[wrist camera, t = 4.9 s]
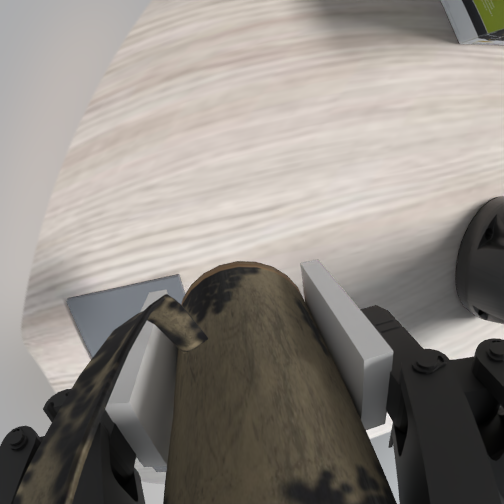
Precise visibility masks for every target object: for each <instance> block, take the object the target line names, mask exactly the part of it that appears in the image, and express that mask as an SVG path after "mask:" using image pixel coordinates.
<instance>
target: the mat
mask: <svg viewBox="0 0 504 504" xmlns="http://www.w3.org/2000/svg"><path fill="white" fill-rule="evenodd" d="M161 290H167V293H168V295H169V296H171V297H172V298H174V299H175V300H177V301H178V302H179V303H180V304H182V300H183V297H184V296H185V292H184V289H183V285H182V282H181V279H180V276H179V274H177V275H173V276H168V277H164V278H159V279H155V280H150V281H146V282H141V283H137V284H132V285H127V286H123V287H118V288H114V289H109V290H104V291H100V292H95V293H91V294H86V295H81V296H77V297H72V298H68V299H67V304H68V306H69V309H70V311H71V313H72V316H73V318H74V320H75V322H76V325H77V327H78V329H79V331H80V333H81V335H82V337H83V340H84V342H85V344H86V346H87V348H88V350H89V352H90V354H91V356H92V358H93V357H94V355H95V354H96V353H97V351H98V350H99V349H100V347H101V346H102V345H103V344H104V342H105V341H106V340H107V338H108V337H109V336H110V334H111V333H112V332H113V330H115V329H116V328H118V327H119V326H121V325H122V324H123V323H125V322H126V321H128V320H129V319H130V318H132V317H133V316H135V315H136V314H138V313H140V312H141V309H142V307H143V305H144V303H145V301H146V298H147V296H148V294H149V293H150V292H155V291H161Z"/></svg>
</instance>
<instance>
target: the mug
mask: <svg viewBox="0 0 504 504" xmlns="http://www.w3.org/2000/svg"><path fill="white" fill-rule="evenodd" d="M146 321H149V322H151V323H153V324H155V325H156V326H157V327H158V328H159V329H160V330H161V331H162V332H163V333H164V334H165V335H166V336H167V337H168V338H169V339H170V340H171V341H172V342H173V343H174V344H175V345H176V346H177V347H178V358H177V369H176V381H175V394H174V408H173V420H172V428H171V436H170V444H169V453H168V462H167V471H166V481H165V491H164V502H163V504H397V503H396V501H395V498H394V496H393V493H392V491H391V488H390V486H389V484H388V481H387V479H386V476H385V474H384V472H383V469H382V467H381V465H380V462H379V460H378V458H377V455H376V453H375V451H374V448H373V446H372V444H371V442H370V439H369V437H368V435H367V433H366V430H365V428H364V426H363V424H362V421H361V419H360V417H359V415H358V412H357V410H356V408H355V406H354V403H353V401H352V399H351V397H350V395H349V392H348V390H347V388H346V386H345V384H344V381H343V379H342V377H341V375H340V373H339V371H338V369H337V367H336V365H335V363H334V360H333V358H332V356H331V354H330V352H329V350H328V348H327V346H326V344H325V342H324V340H323V338H322V336H321V334H320V331H319V329H318V327H317V325H316V323H315V321H314V319H313V317H312V315H311V313H310V311H309V310H308V308H307V306H306V304H305V302H304V299H303V297H302V295H301V293H300V291H299V289H298V287H297V286H296V285H295V284H294V283H293V281H292V280H291V279H290V278H289V277H288V276H287V275H285V274H284V273H282V272H280V271H279V270H277V269H276V268H274V267H272V266H268V265H265V264H261V263H258V262H243V261H237V262H232V263H228V264H223V265H219V266H217V267H215V268H214V269H212V270H210V271H208V272H206V273H204V274H203V275H202V276H200V277H199V278H198V279H197V280H196V281H195V282H194V283H193V284H192V285H191V286H190V288H189V289H188V291H187V293H186V294H185V296H184V297H183V300H182V304H180V303H179V302H178V301H177V300H175V299H174V298H172V297H171V296H169V295H168V294H165V295H163V296H162V297H161V298H159V299H158V300H156V301H155V302H153V303H152V304H151V305H149V306H148V307H147V308H146V309H145V310H144V311H142V312H140V313H138V314H136V315H135V316H133V317H132V318H130V319H129V320H128V321H126V322H125V323H123V324H122V325H121V326H119V327H118V328H116V329H115V330H113V332H112V333H111V334H110V336H109V337H108V338H107V340H106V341H105V342H104V344H103V345H102V346H101V347H100V349H99V350H98V351H97V353H96V354H95V355H94V357H93V358H92V360H91V361H90V362H89V364H88V365H87V366H86V368H85V369H84V370H83V372H82V373H81V374H80V376H79V378H78V379H77V381H76V383H75V384H74V386H73V387H72V389H71V391H70V393H69V394H68V396H67V398H66V399H65V401H64V403H63V404H62V406H61V408H60V410H59V411H58V413H57V415H56V417H55V418H54V420H53V422H52V424H51V426H50V427H49V429H48V431H47V433H46V435H45V436H44V438H43V440H42V442H41V444H40V446H39V448H38V449H37V451H36V453H35V455H34V457H33V459H32V461H31V463H30V465H29V467H28V469H27V471H26V473H25V475H24V477H23V479H22V482H21V484H20V487H19V489H18V492H17V494H16V497H15V499H14V502H13V504H72V502H73V499H74V495H75V492H76V488H77V485H78V482H79V478H80V475H81V472H82V469H83V466H84V463H85V460H86V457H87V455H88V452H89V449H90V447H91V444H92V441H93V439H94V436H95V433H96V431H97V428H98V426H99V423H100V421H101V418H102V416H103V413H104V411H105V408H106V406H107V403H108V401H109V398H110V396H111V393H112V391H113V389H114V386H115V384H116V381H117V379H118V377H119V374H120V372H121V370H122V367H123V365H124V363H125V361H126V358H127V356H128V354H129V352H130V350H131V348H132V346H133V344H134V342H135V341H136V339H137V337H138V335H139V334H140V332H141V330H142V328H143V326H144V325H145V323H146Z"/></svg>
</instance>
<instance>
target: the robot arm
mask: <svg viewBox="0 0 504 504" xmlns="http://www.w3.org/2000/svg"><path fill="white" fill-rule="evenodd" d="M300 264H301V271H302V279H303V287H304V295H305V304H306V306H307V308H308V310H309V311H310V313H311V315H312V317H313V319H314V321H315V323H316V325H317V327H318V329H319V331H320V334H321V336H322V338H323V340H324V342H325V344H326V346H327V348H328V350H329V352H330V354H331V356H332V358H333V360H334V363H335V365H336V367H337V369H338V371H339V373H340V375H341V377H342V379H343V381H344V384H345V386H346V388H347V390H348V392H349V395H350V397H351V399H352V401H353V403H354V406H355V408H356V410H357V412H358V415H359V417H360V419H361V421H362V424H363V426H364V428H365V430H368V429H371V428H374V427H377V426H380V425H382V424H385V420H386V413H387V412H388V414H389V416H390V417H391V419H392V421H393V425H392V430H391V436H390V441H389V448H390V447H392V445H393V446H394V453H395V461H396V469H397V478H398V489H399V500H400V504H504V340H502V339H488V340H484V341H483V342H481V343H480V344H479V345H478V347H477V349H476V352H475V356H474V357H469V358H463V359H456V360H449V359H448V357H447V356H446V355H445V354H443V353H441V352H439V351H437V350H432V349H423V348H422V347H421V346H420V345H419V344H418V343H417V341H416V340H415V339H414V338H413V337H412V336H411V335H410V334H409V333H408V332H407V331H406V330H405V328H404V327H402V325H401V324H400V323H399V322H398V321H397V320H395V318H394V317H393V316H392V315H391V314H390V312H389V311H387V310H385V309H383V308H381V307H378V306H376V305H375V306H372V307H368V308H364V309H359V308H358V306H357V305H356V304H355V303H354V301H353V300H352V299H351V298H350V297H349V295H348V294H347V293H346V292H345V291H344V289H343V288H342V287H341V286H340V284H339V283H338V282H337V281H336V280H335V279H334V277H333V276H332V275H331V274H330V273H329V271H328V270H327V269H326V268H325V267H324V265H323V264H322V263H321V262H320V261H319V260H313V261H308V262H304V263H300ZM456 287H457V292H458V296H459V298H460V301H461V302H462V304H463V305H464V306H465V307H466V308H467V309H468V310H469V311H470V312H472V313H473V314H474V315H476V316H477V317H479V318H481V319H484V320H488V321H492V322H496V323H501V324H504V197H498V198H495V199H493V200H491V201H489V202H488V203H487V204H485V205H484V206H483V207H482V208H481V209H480V210H479V212H478V213H477V214H476V216H475V217H474V218H473V220H472V222H471V223H470V225H469V227H468V229H467V231H466V233H465V236H464V238H463V241H462V244H461V247H460V250H459V254H458V259H457V266H456ZM165 294H168V293H167V290H161V291H155V292H150V293H149V294H148V296H147V298H146V301H145V303H144V305H143V307H142V309H141V312H142V311H144V310H145V309H146V308H147V307H148V306H149V305H151V304H152V303H153V302H155V301H156V300H158V299H159V298H161V297H162V296H163V295H165ZM177 358H178V347H177V346H176V345H175V344H174V343H173V342H172V341H171V340H170V339H169V338H168V337H167V336H166V335H165V334H164V333H163V332H162V331H161V330H160V329H159V328H158V327H157V326H156V325H155V324H153V323H151V322H149V321H146V323H145V325H144V326H143V328H142V330H141V332H140V334H139V335H138V337H137V339H136V341H135V342H134V344H133V346H132V348H131V350H130V352H129V354H128V356H127V358H126V361H125V363H124V365H123V367H122V370H121V372H120V374H119V377H118V379H117V381H116V384H115V386H114V389H113V391H112V393H111V396H110V398H109V401H108V403H107V406H106V408H105V411H104V413H103V416H102V418H101V421H100V423H99V426H98V428H97V431H96V433H95V436H94V439H93V441H92V444H91V447H90V449H89V452H88V455H87V457H86V460H85V463H84V466H83V469H82V472H81V475H80V478H79V482H78V485H77V488H76V492H75V495H74V499H73V502H72V504H145V500H144V495H143V490H142V484H141V479H140V476H139V473H138V471H137V470H136V469H135V468H134V464H135V459H136V457H137V458H138V460H139V461H140V462H141V464H142V465H143V466H144V467H157V466H167V462H168V453H169V444H170V436H171V428H172V420H173V408H174V394H175V381H176V369H177ZM70 391H71V389H66V390H63V391H61V392H58V393H57V394H55V395H54V396H52V397H51V398H50V399H49V400H48V401H47V402H46V404H45V406H44V408H43V410H44V412H45V413H46V414H47V416H48V417H49V419H50V420H51V422H53V420H54V418H55V417H56V415H57V413H58V411H59V410H60V408H61V406H62V404H63V403H64V401H65V399H66V398H67V396H68V394H69V393H70ZM43 438H44V436H43V437H39V436H38V434H37V433H36V432H35V431H34V430H33V429H32V428H31V427H28V426H21V427H18V428H15V429H13V430H12V431H11V432H9V433H8V434H7V435H6V437H5V438H4V440H3V442H2V444H1V446H0V504H13V502H14V499H15V497H16V494H17V492H18V489H19V487H20V484H21V482H22V479H23V477H24V475H25V473H26V471H27V469H28V467H29V465H30V463H31V461H32V459H33V457H34V455H35V453H36V451H37V449H38V448H39V446H40V444H41V442H42V440H43Z"/></svg>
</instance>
